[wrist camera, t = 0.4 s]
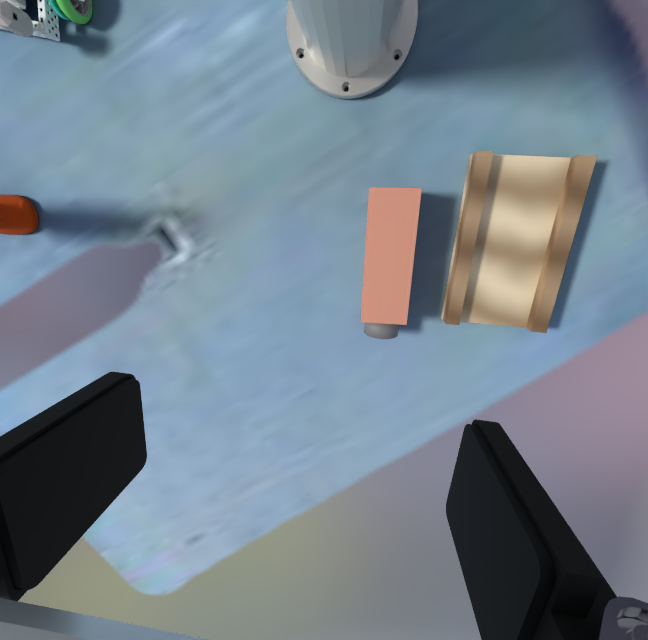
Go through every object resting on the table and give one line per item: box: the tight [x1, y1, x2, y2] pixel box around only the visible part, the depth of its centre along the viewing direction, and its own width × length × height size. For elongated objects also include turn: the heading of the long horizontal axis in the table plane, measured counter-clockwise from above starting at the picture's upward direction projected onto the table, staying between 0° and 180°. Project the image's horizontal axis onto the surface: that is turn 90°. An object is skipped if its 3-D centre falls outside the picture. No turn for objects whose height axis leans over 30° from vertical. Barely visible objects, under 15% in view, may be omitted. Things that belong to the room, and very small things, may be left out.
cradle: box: [441, 151, 597, 333], centre depth 35 cm, size 18×11×2 cm, turn 177°
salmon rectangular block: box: [361, 187, 422, 339], centre depth 37 cm, size 16×5×5 cm, turn 179°
